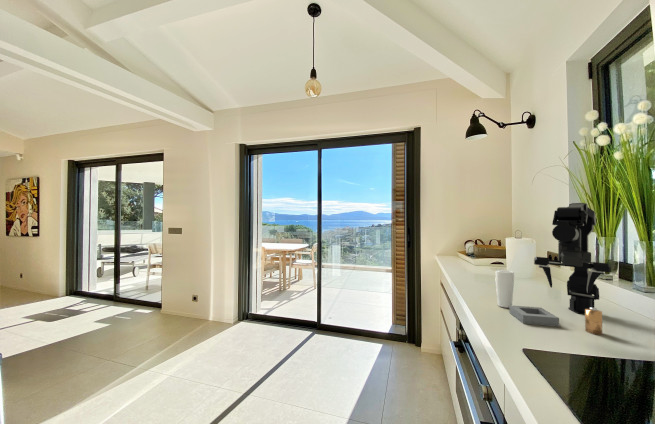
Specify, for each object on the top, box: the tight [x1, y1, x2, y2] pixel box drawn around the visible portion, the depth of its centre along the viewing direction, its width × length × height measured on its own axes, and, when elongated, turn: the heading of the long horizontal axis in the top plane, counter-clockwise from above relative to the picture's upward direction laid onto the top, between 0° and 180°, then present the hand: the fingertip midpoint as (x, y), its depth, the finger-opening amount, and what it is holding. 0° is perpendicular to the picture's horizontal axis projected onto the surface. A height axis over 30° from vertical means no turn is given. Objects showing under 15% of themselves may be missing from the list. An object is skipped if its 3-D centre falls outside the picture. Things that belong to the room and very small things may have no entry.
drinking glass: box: [494, 269, 515, 309], centre depth 114 cm, size 7×7×15 cm
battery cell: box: [584, 306, 603, 336], centre depth 88 cm, size 4×4×8 cm
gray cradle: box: [509, 304, 560, 328], centre depth 99 cm, size 11×11×3 cm
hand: (569, 290), depth 89 cm, fingers open, 9 cm apart
